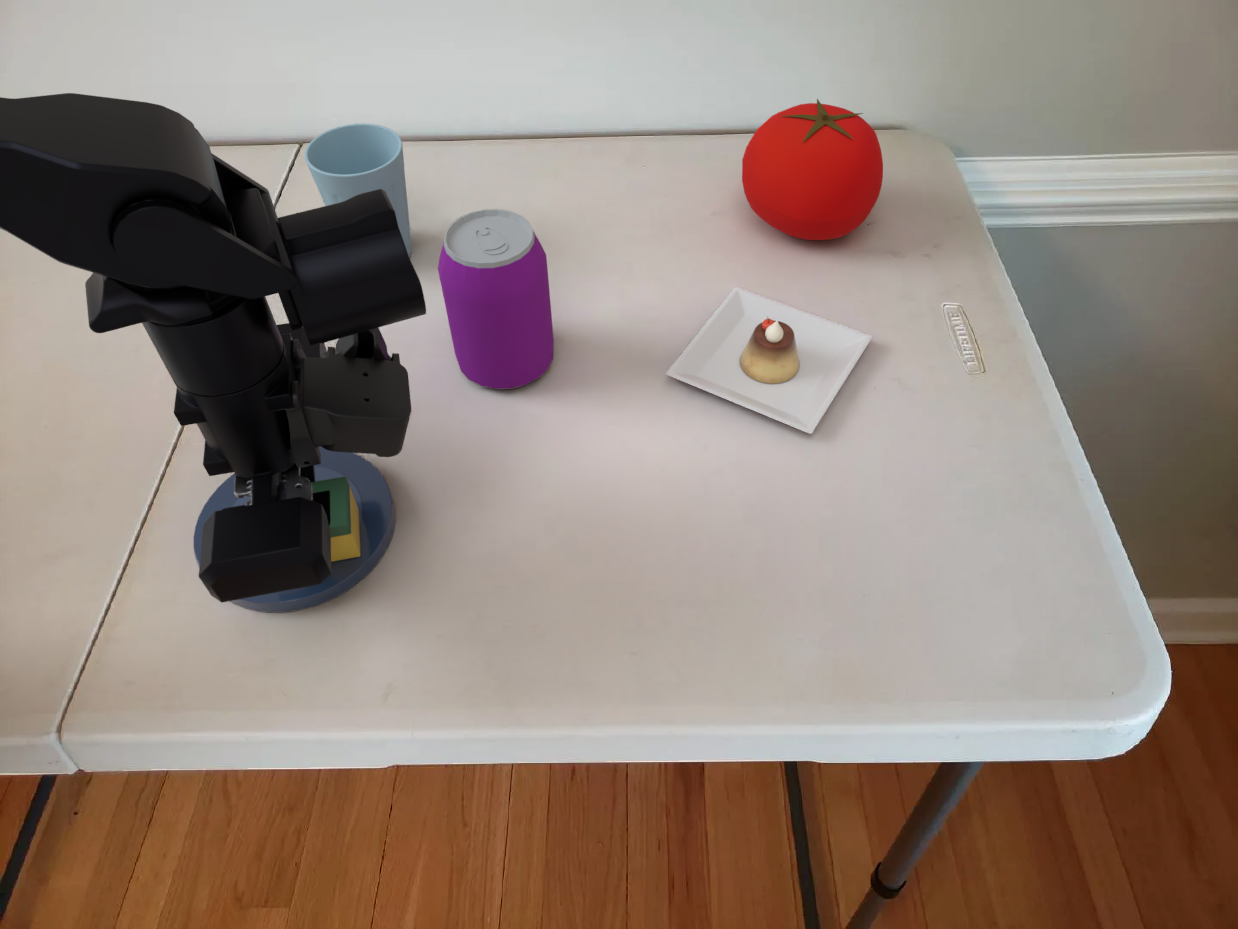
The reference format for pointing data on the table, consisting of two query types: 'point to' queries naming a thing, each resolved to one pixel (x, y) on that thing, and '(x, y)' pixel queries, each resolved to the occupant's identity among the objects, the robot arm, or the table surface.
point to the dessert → (771, 358)
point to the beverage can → (497, 298)
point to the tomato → (813, 171)
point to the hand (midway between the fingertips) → (309, 533)
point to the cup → (361, 167)
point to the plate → (344, 573)
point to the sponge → (341, 518)
